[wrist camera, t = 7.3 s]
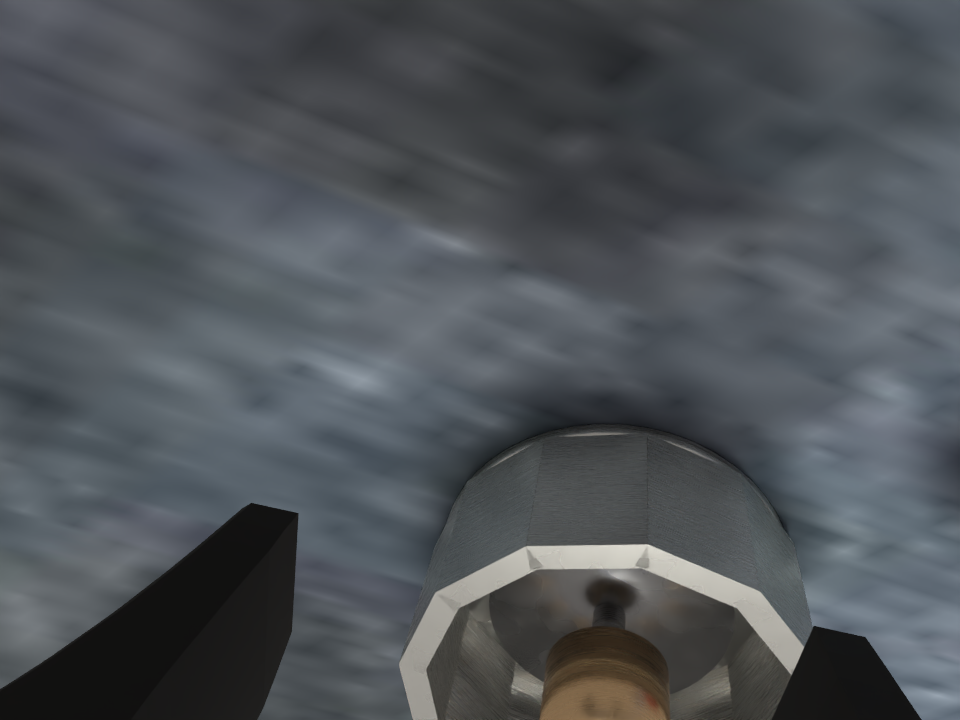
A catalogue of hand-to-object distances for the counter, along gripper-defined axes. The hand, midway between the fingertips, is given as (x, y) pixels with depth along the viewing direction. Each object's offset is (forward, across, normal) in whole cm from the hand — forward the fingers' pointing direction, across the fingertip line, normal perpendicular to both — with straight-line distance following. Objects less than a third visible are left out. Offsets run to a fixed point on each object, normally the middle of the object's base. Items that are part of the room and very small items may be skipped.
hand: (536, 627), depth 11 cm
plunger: (+9, -2, +8) cm, 12 cm away
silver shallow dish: (+10, -2, +9) cm, 14 cm away
